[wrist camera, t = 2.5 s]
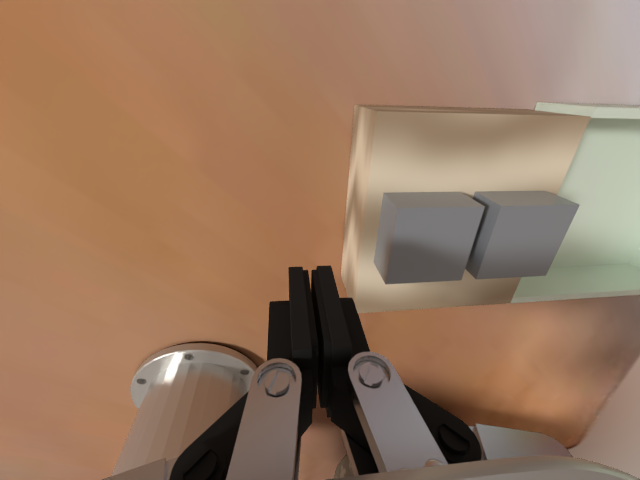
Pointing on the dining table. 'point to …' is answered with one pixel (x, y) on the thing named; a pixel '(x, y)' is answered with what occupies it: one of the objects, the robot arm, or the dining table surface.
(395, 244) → the tile front
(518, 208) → the tile rear
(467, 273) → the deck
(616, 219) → the tray
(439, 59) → the dining table surface
